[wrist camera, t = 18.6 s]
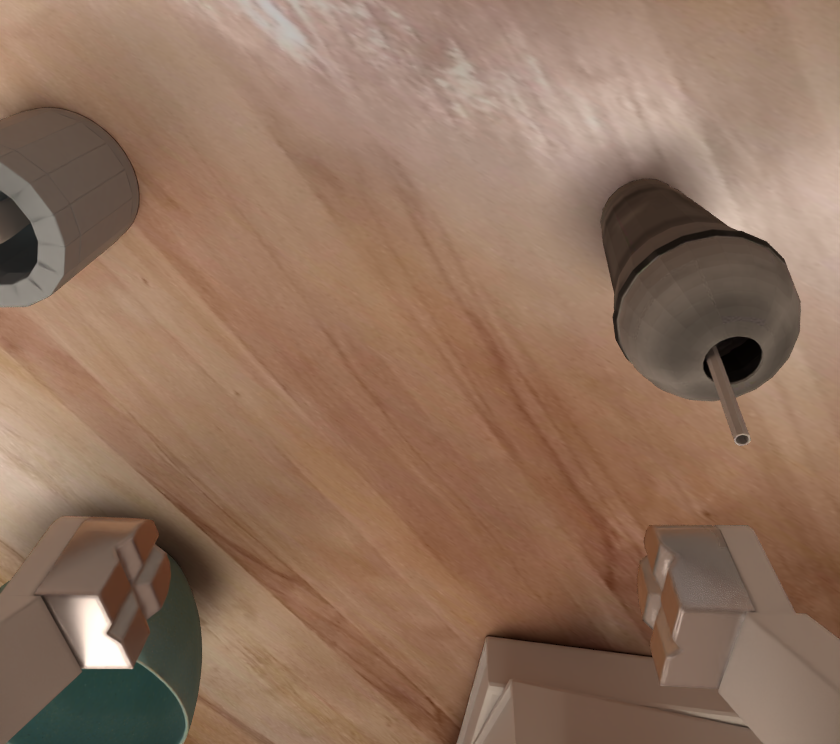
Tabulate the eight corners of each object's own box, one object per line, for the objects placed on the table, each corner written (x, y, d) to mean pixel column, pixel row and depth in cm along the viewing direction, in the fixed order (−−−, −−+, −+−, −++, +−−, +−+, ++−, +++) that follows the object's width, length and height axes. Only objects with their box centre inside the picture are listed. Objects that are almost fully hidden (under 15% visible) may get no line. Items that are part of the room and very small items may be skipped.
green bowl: (1, 572, 58) (-100, 705, 48) (77, 456, 50) (-24, 587, 40) (180, 657, 64) (125, 793, 53) (277, 565, 55) (233, 705, 45)
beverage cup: (699, 272, 39) (876, 518, 22) (574, 281, 39) (652, 524, 23) (716, 146, 35) (947, 329, 18) (577, 159, 35) (674, 345, 19)
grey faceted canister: (-22, 109, 36) (-143, 148, 29) (116, 104, 35) (28, 143, 28) (31, 245, 40) (-63, 308, 33) (155, 243, 40) (86, 307, 33)
